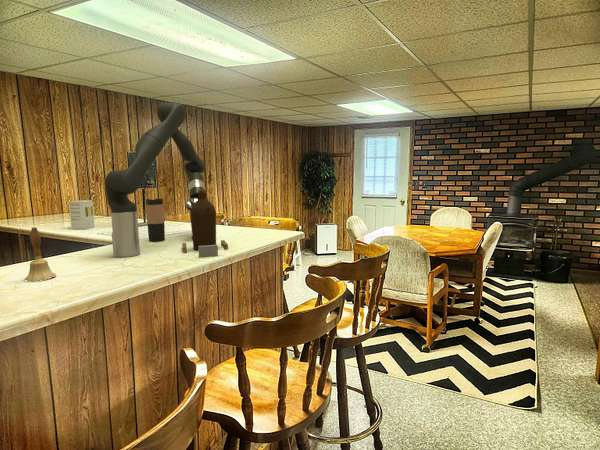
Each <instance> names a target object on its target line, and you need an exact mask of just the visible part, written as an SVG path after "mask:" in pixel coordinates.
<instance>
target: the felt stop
mask: <svg viewBox="0 0 600 450" xmlns="http://www.w3.org/2000/svg"><path fill="white" fill-rule="evenodd" d="M197 251H198V258H208V257H209V258H211V257H218V256H219V252H218V251H219V250H218V245H217V244H216V245H206V246H198V250H197Z"/></svg>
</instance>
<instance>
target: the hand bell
mask: <svg viewBox="0 0 600 450" xmlns="http://www.w3.org/2000/svg"><path fill="white" fill-rule="evenodd" d="M29 239H30V243H31V245H32V247H33V255H34V259H33V260H32V261H31V262H30V263H29V271H28V274H27V276H26V277H25V278H24V280H27V281H39V282H41V281H40V280H45V279H49V278H52V277H54V276H56V275H57V274H56V273H54V272H53V271H52V269H51V268H50V266H49V263H48V260H46V259H43V258H42V253H41V244H42V243H41V239H42V238H41V235H40V231H39V230H38V228H37V227H36V226H35V227H31V229H30V235H29ZM56 277H57V276H56ZM52 279H53V278H52ZM49 280H50V279H49ZM45 281H46V280H45Z"/></svg>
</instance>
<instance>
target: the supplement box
mask: <svg viewBox="0 0 600 450" xmlns="http://www.w3.org/2000/svg"><path fill="white" fill-rule="evenodd" d="M68 207H69V216H70V219H69V220H70V227H71V230H89V229H93V228H95V227H96V226H95V216H94V215H95V213H94V205H93V200H91V199H90V200H89V199H88V200H87V199H86V200H71V201H68Z"/></svg>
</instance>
